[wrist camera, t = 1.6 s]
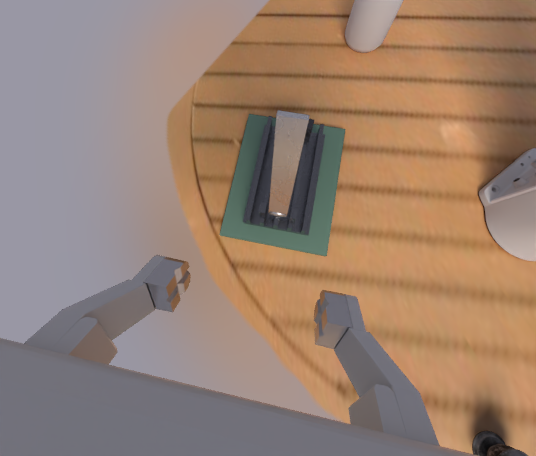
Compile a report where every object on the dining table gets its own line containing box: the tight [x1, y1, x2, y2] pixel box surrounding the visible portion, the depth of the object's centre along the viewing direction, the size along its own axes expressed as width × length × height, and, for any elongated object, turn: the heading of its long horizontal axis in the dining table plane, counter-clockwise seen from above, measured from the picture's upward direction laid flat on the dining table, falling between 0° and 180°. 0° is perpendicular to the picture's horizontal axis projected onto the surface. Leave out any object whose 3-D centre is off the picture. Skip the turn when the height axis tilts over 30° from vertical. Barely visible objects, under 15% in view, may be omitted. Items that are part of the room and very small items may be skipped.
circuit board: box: [220, 114, 345, 256], centre depth 39 cm, size 26×20×1 cm
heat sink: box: [243, 116, 325, 236], centre depth 35 cm, size 20×12×6 cm, turn 168°
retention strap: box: [269, 110, 309, 218], centre depth 26 cm, size 17×3×1 cm
